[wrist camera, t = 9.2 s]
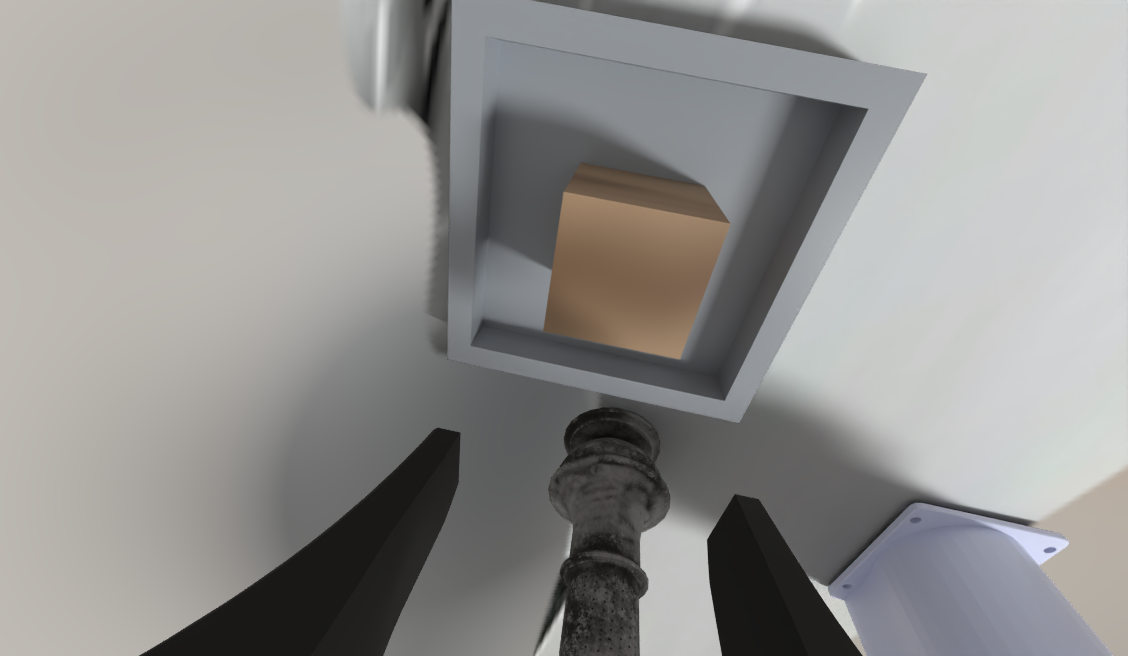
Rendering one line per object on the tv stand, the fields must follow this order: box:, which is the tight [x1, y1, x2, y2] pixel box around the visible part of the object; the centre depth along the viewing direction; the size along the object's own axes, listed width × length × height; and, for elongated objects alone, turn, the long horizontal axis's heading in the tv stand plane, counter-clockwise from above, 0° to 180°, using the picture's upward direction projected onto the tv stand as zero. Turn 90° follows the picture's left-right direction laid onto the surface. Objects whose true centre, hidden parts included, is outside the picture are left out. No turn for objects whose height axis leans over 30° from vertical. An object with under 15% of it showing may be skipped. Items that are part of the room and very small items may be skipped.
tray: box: [447, 0, 927, 423], centre depth 16 cm, size 13×13×2 cm
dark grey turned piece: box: [548, 408, 670, 656], centre depth 18 cm, size 6×6×12 cm
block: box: [543, 163, 731, 359], centre depth 14 cm, size 4×4×4 cm
